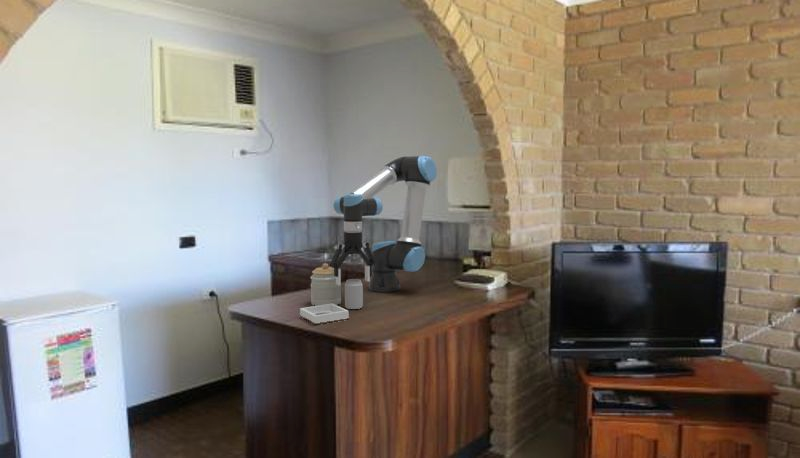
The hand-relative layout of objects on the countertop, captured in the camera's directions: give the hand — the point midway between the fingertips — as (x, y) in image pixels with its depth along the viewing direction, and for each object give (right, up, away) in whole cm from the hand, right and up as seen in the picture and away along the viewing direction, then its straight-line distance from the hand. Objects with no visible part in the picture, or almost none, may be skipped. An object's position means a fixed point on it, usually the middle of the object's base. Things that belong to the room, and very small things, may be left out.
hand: (352, 282), depth 224 cm
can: (0, -11, +1) cm, 11 cm away
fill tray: (-10, -13, -14) cm, 21 cm away
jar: (-12, -10, +10) cm, 19 cm away
